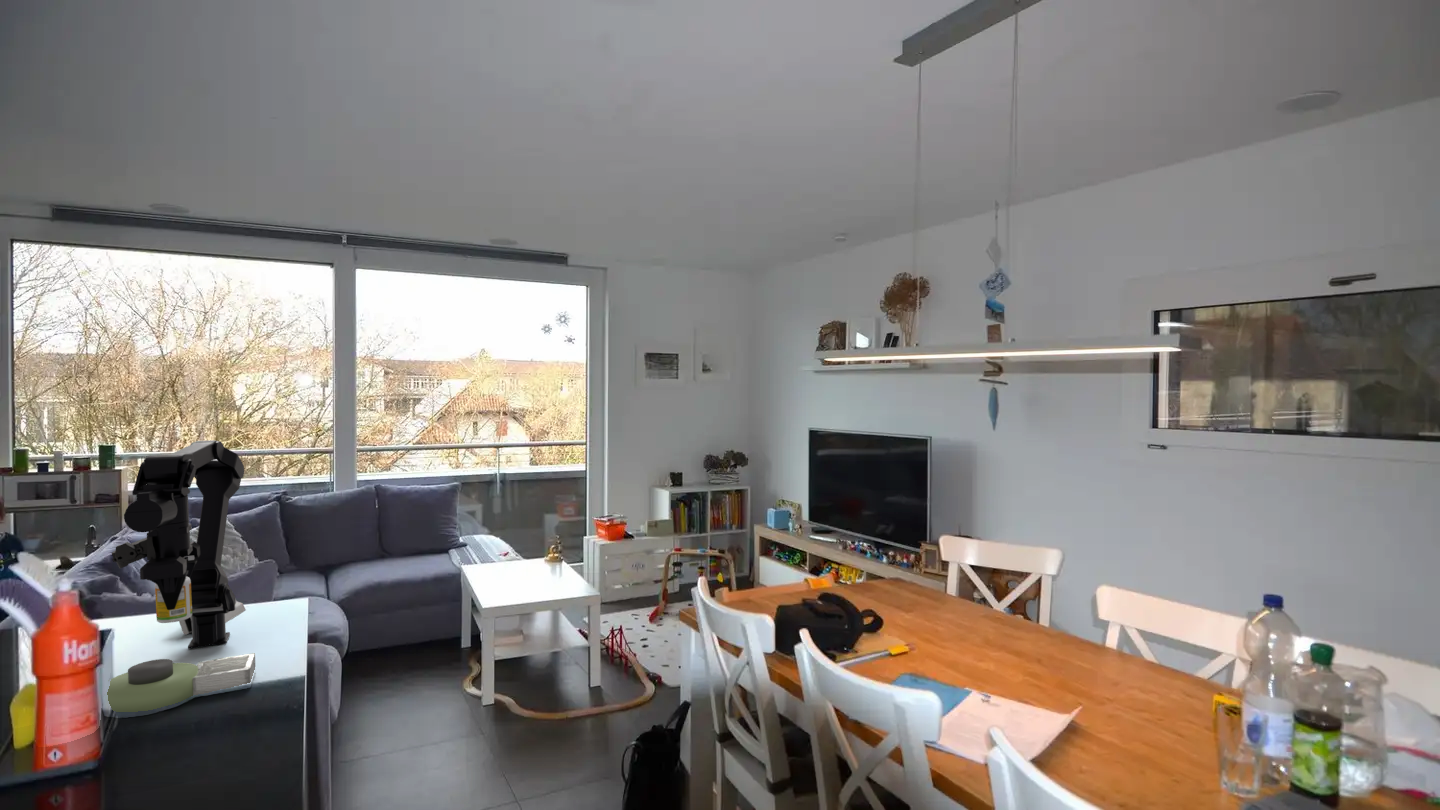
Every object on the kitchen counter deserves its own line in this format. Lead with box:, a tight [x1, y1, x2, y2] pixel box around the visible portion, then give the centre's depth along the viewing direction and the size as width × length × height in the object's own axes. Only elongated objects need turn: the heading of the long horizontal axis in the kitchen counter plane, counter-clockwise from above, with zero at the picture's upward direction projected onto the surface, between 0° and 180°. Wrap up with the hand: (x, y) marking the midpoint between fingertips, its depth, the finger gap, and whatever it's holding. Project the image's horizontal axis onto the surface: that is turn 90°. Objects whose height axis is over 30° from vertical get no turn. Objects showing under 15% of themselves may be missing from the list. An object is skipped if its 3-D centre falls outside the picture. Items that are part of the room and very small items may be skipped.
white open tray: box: [192, 652, 256, 695], centre depth 132 cm, size 9×9×4 cm
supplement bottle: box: [154, 577, 192, 624], centre depth 140 cm, size 5×5×10 cm
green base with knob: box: [107, 658, 198, 712], centre depth 126 cm, size 13×13×6 cm
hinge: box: [178, 599, 247, 635], centre depth 168 cm, size 17×5×10 cm, turn 8°
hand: (174, 605), depth 140 cm, fingers closed on supplement bottle, 5 cm apart
